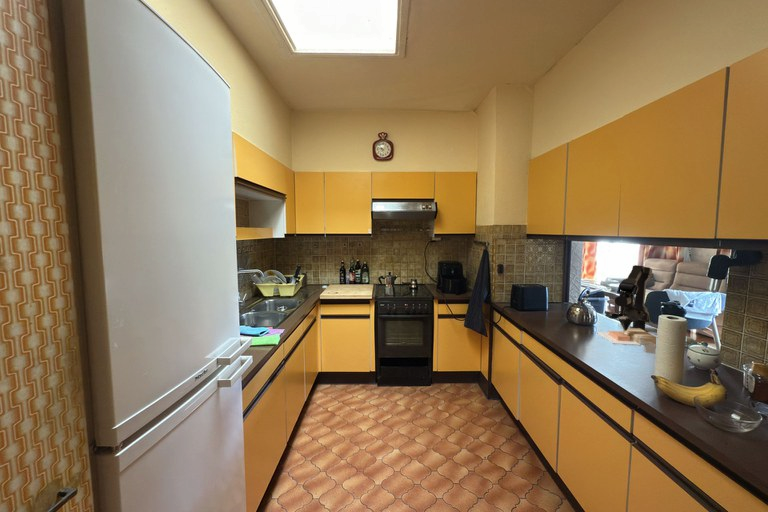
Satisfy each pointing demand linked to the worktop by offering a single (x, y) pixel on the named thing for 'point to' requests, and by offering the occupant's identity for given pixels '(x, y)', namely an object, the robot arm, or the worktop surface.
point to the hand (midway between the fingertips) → (625, 330)
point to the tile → (619, 336)
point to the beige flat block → (647, 346)
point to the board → (635, 332)
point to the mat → (614, 341)
